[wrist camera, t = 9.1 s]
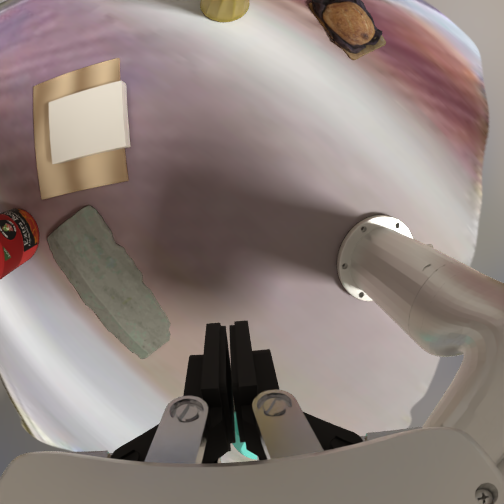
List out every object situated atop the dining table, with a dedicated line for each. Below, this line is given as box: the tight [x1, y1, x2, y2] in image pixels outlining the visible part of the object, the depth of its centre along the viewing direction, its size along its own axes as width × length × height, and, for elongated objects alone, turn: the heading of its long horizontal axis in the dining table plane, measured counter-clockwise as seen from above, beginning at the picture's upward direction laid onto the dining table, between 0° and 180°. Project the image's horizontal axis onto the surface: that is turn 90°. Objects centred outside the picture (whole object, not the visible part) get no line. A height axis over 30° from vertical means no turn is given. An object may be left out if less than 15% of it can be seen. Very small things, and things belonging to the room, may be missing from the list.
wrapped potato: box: [308, 0, 386, 60], centre depth 29 cm, size 11×8×4 cm
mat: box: [33, 58, 129, 200], centre depth 30 cm, size 13×16×1 cm
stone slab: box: [47, 206, 170, 359], centre depth 37 cm, size 22×3×10 cm
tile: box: [49, 81, 130, 164], centre depth 29 cm, size 2×8×10 cm
